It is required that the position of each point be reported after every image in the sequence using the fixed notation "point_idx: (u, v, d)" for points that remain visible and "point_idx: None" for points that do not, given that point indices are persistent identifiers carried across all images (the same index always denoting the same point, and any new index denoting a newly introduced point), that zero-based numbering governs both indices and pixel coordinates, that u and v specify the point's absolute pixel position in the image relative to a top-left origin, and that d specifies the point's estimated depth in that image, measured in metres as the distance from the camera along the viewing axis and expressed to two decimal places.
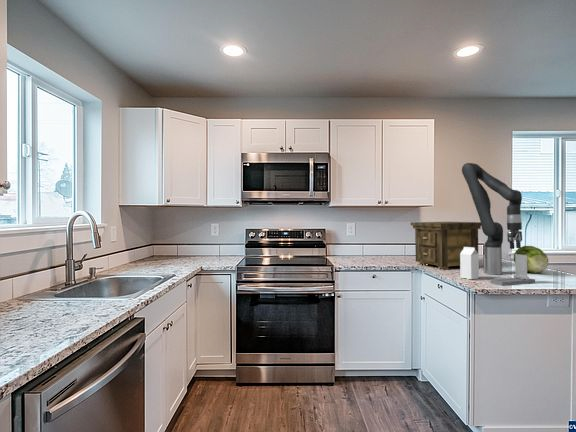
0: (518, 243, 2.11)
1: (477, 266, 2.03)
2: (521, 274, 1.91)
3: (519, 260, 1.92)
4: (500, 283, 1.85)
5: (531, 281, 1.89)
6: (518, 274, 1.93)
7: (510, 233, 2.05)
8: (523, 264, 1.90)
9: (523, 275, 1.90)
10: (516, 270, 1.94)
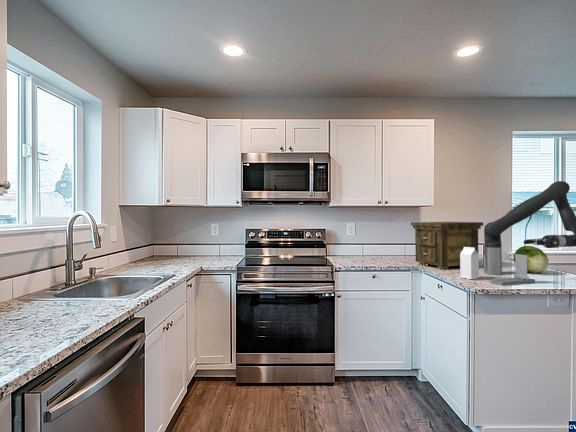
0: (528, 242, 1.97)
1: (477, 266, 2.03)
2: (521, 274, 1.91)
3: (519, 260, 1.92)
4: (500, 283, 1.85)
5: (531, 281, 1.89)
6: (518, 274, 1.93)
7: (555, 243, 1.89)
8: (523, 264, 1.90)
9: (523, 275, 1.90)
10: (516, 270, 1.94)
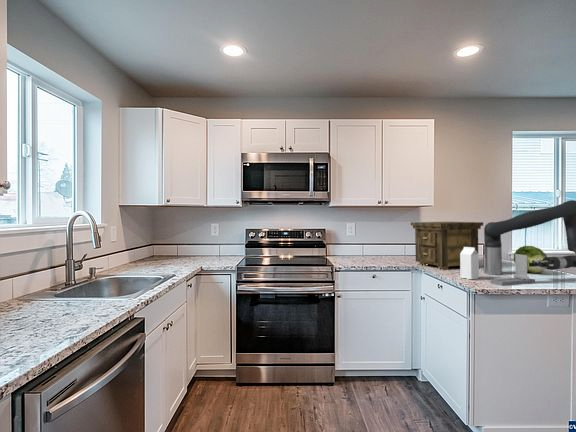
0: None
1: (477, 266, 2.03)
2: (521, 274, 1.91)
3: (519, 260, 1.92)
4: (500, 283, 1.85)
5: (531, 281, 1.89)
6: (518, 274, 1.93)
7: (551, 266, 1.89)
8: (523, 264, 1.90)
9: (523, 275, 1.90)
10: (516, 270, 1.94)
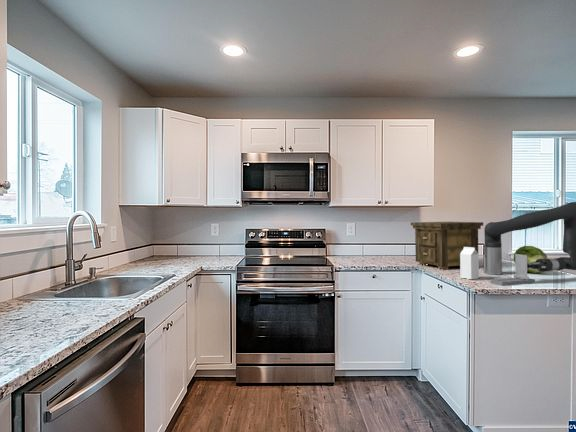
0: None
1: (477, 266, 2.03)
2: (521, 274, 1.91)
3: (519, 260, 1.92)
4: (500, 283, 1.85)
5: (531, 281, 1.89)
6: (518, 274, 1.93)
7: (543, 267, 1.88)
8: (523, 264, 1.90)
9: (523, 275, 1.90)
10: (516, 270, 1.94)
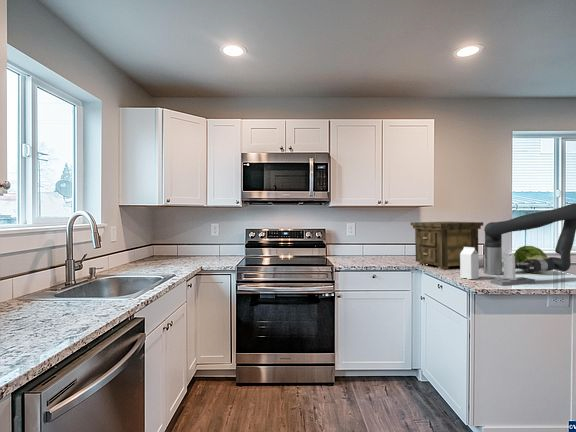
0: None
1: (477, 266, 2.03)
2: (509, 275, 1.89)
3: (507, 260, 1.90)
4: (500, 283, 1.85)
5: (531, 281, 1.89)
6: (506, 275, 1.91)
7: (531, 268, 1.86)
8: (511, 265, 1.88)
9: (511, 276, 1.88)
10: (504, 271, 1.92)
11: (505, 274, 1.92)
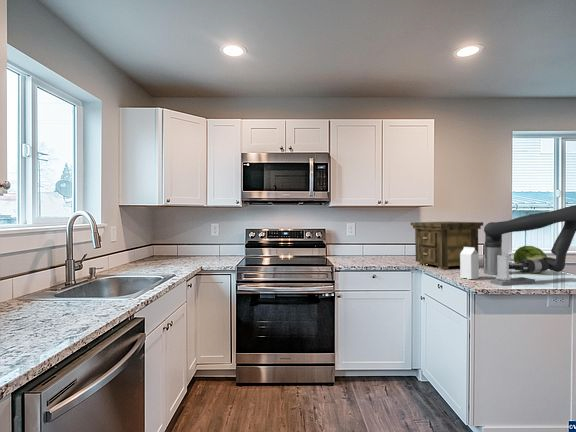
0: None
1: (477, 266, 2.03)
2: (503, 275, 1.88)
3: (501, 261, 1.89)
4: (500, 283, 1.85)
5: (531, 281, 1.89)
6: (500, 275, 1.90)
7: (525, 269, 1.85)
8: (505, 265, 1.87)
9: (505, 276, 1.87)
10: (498, 271, 1.91)
11: (499, 274, 1.91)
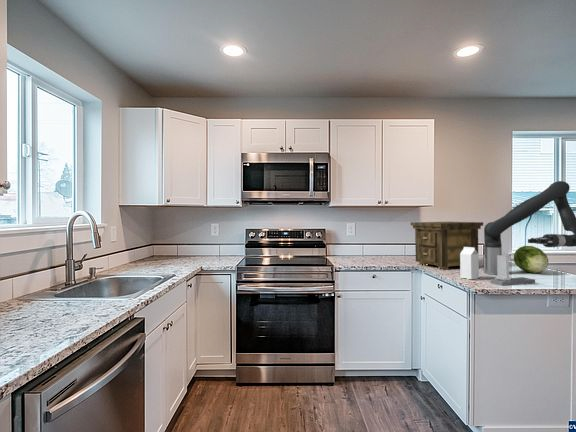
0: None
1: (477, 266, 2.03)
2: (503, 275, 1.88)
3: (501, 261, 1.89)
4: (500, 283, 1.85)
5: (531, 281, 1.89)
6: (500, 275, 1.90)
7: (550, 242, 1.89)
8: (505, 265, 1.87)
9: (505, 276, 1.87)
10: (498, 271, 1.91)
11: (499, 274, 1.91)
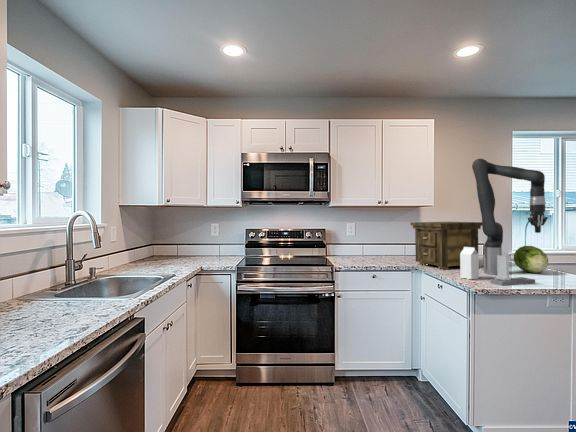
0: None
1: (477, 266, 2.03)
2: (503, 275, 1.88)
3: (501, 261, 1.89)
4: (500, 283, 1.85)
5: (531, 281, 1.89)
6: (500, 275, 1.90)
7: (530, 219, 2.04)
8: (505, 265, 1.87)
9: (505, 276, 1.87)
10: (498, 271, 1.91)
11: (499, 274, 1.91)
